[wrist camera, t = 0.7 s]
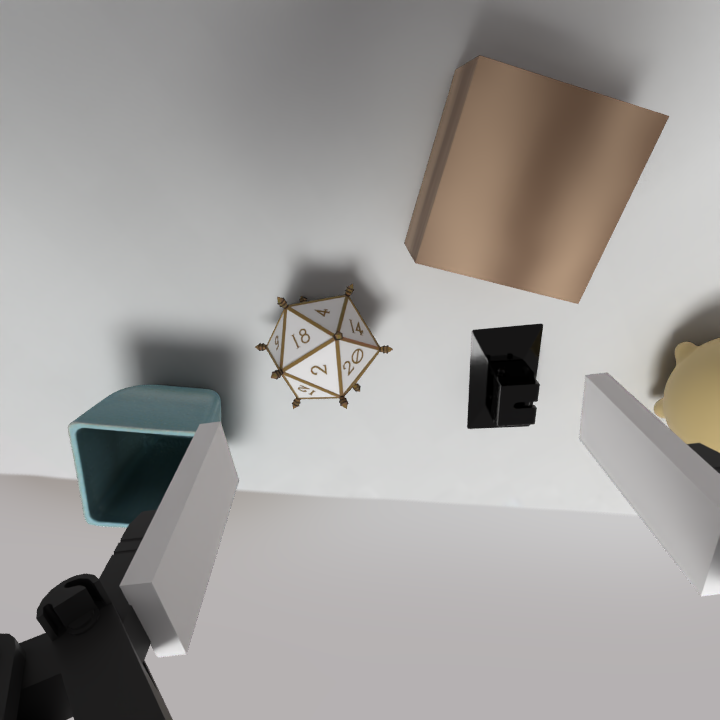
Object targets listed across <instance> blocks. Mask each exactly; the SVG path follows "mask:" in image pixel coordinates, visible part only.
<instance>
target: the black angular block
mask: <svg viewBox="0 0 720 720" xmlns="http://www.w3.org/2000/svg"><path fill="white" fill-rule="evenodd" d="M542 330H543V324H533V325H522V326H511V327H500V328H489V329H479V330H473V331H472V338H471V359H470V381H469V402H468V424H467V428H468V429H475V428H498V427H522V426H529V425H530V424H535V417H536V409H537V408H536V406H535V405H533V402H537V401H538V394H539V386H540V384H539V383H538V381H537V380H536V376H537V368H538V360H539V353H540V345H541V337H542Z"/></svg>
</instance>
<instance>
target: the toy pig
mask: <svg viewBox="0 0 720 720" xmlns="http://www.w3.org/2000/svg"><path fill="white" fill-rule="evenodd" d="M675 359H676V367H675V368H674V370H673V371H672V373H671V375H670V377H669V379H668V381H667V383H666V386H665V390H664V396H663V398H662V399H660V400H659V401H657V402H656V404H655V405H654V412H655V414H656V415H657V416H659V417H661V418H666V421H667V424H668V426H669V428H670V430H671V431H673V432H674V433H675V434H676V435H677V436H678V437H679V438H680V439H681V440H683V441H684V442H685V443H686V444H692V443H701V444H703V445H705V446H707V447H709V448H711V449H713V450H715V451H717V452H719V453H720V338H717V339H714V340H711V341H709V342H706V343H704V344H702V345H700V346H696V345H694V344H693V343H691V342H682V343H680V344H678V345H677V347H676V348H675Z"/></svg>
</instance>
